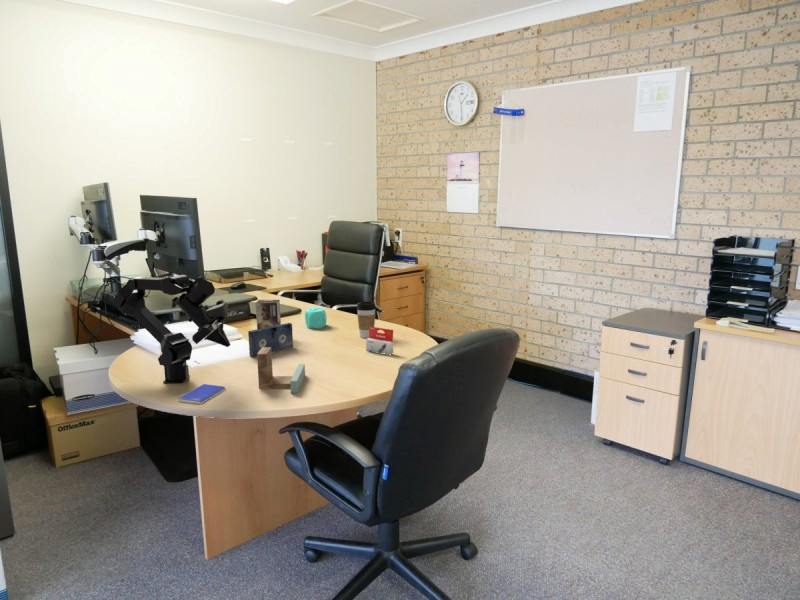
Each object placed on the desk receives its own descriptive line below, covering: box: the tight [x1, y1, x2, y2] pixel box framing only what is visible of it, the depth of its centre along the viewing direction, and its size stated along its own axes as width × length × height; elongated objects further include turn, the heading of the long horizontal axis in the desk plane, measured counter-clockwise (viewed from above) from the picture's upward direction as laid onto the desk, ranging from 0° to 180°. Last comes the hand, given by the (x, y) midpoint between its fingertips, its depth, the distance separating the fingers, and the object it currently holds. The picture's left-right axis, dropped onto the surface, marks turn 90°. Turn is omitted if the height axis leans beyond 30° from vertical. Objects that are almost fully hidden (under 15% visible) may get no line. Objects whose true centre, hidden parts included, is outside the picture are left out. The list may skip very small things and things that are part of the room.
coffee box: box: [255, 299, 282, 330], centre depth 227 cm, size 9×6×16 cm
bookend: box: [256, 347, 293, 389], centre depth 175 cm, size 11×7×12 cm, turn 91°
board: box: [290, 363, 306, 394], centre depth 176 cm, size 2×16×4 cm, turn 1°
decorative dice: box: [304, 307, 327, 330], centre depth 246 cm, size 8×8×8 cm
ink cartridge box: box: [365, 326, 394, 354], centre depth 208 cm, size 2×11×10 cm, turn 62°
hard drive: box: [177, 383, 226, 405], centre depth 166 cm, size 2×8×12 cm
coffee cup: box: [356, 301, 377, 339], centre depth 229 cm, size 8×8×15 cm
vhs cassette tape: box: [247, 322, 294, 358], centre depth 209 cm, size 18×3×10 cm, turn 134°
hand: (229, 345), depth 174 cm, fingers closed
